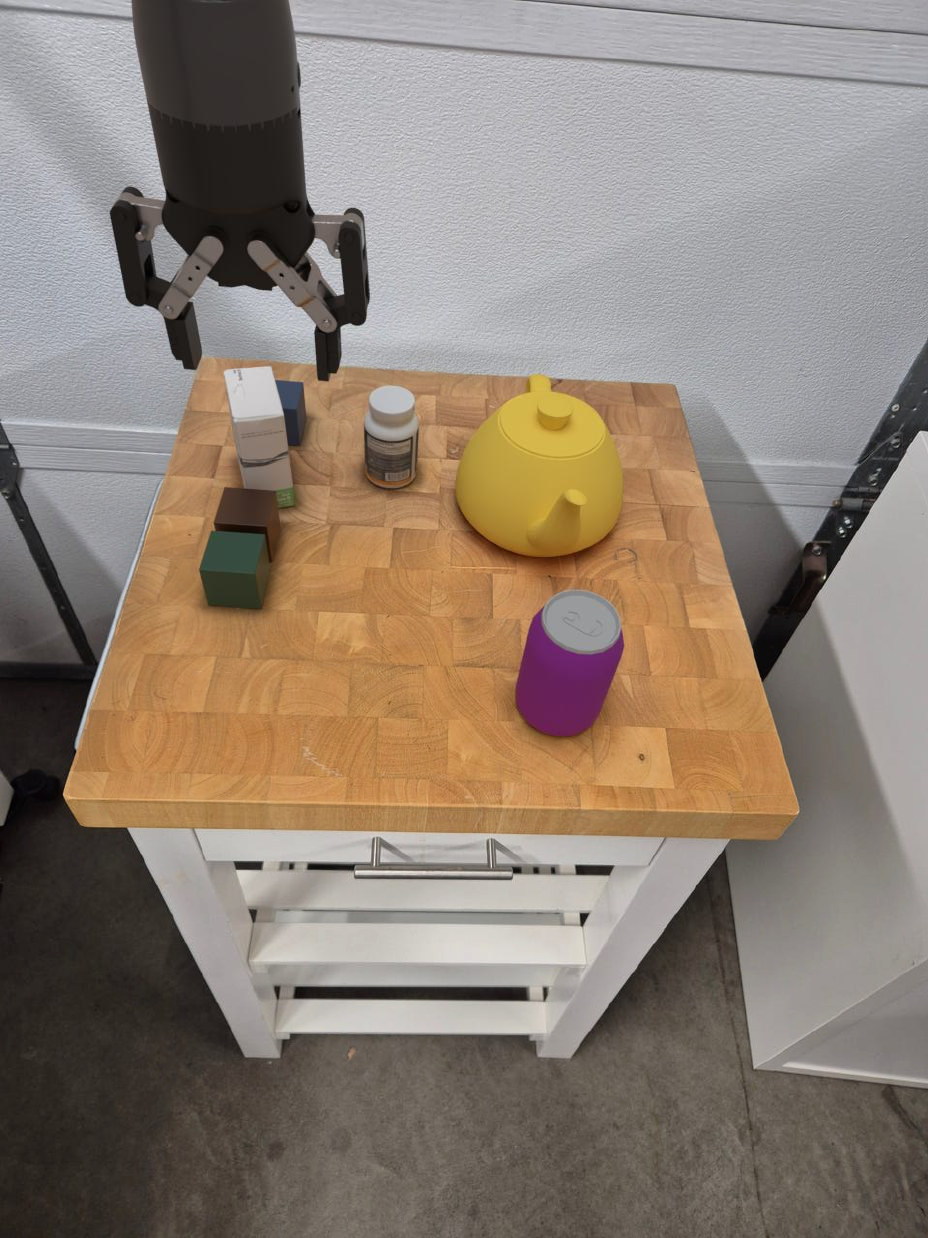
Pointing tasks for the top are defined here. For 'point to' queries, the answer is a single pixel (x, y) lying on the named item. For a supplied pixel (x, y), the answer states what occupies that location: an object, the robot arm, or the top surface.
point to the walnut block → (250, 514)
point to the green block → (235, 569)
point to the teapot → (541, 474)
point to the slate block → (292, 409)
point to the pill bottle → (391, 437)
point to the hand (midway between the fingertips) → (260, 368)
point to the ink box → (260, 431)
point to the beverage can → (569, 662)
